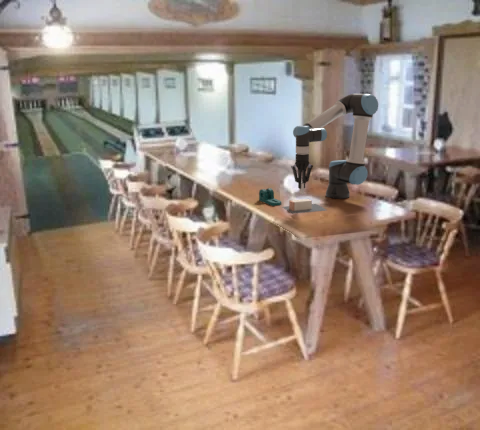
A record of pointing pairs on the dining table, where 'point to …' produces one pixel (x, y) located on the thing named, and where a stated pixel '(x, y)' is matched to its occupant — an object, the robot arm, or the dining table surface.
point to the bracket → (268, 197)
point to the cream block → (300, 204)
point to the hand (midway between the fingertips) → (301, 193)
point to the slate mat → (314, 208)
